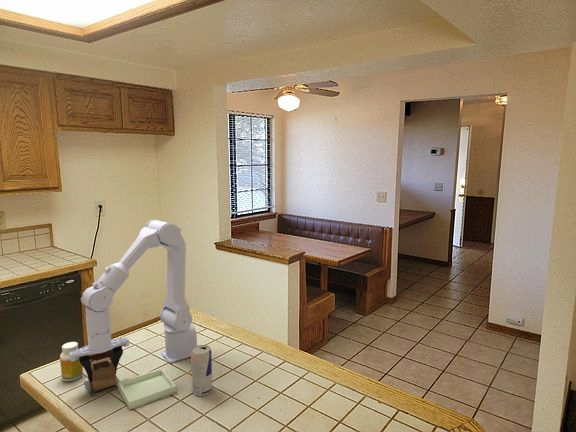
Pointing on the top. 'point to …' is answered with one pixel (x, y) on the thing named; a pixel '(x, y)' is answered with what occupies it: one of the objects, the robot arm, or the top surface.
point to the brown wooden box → (103, 374)
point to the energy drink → (201, 370)
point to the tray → (146, 388)
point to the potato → (100, 356)
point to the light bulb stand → (94, 393)
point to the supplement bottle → (70, 363)
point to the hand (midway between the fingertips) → (102, 376)
